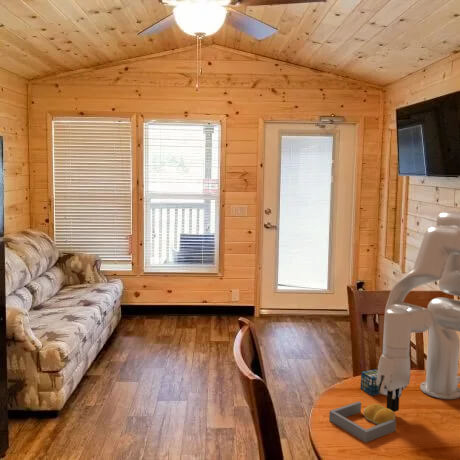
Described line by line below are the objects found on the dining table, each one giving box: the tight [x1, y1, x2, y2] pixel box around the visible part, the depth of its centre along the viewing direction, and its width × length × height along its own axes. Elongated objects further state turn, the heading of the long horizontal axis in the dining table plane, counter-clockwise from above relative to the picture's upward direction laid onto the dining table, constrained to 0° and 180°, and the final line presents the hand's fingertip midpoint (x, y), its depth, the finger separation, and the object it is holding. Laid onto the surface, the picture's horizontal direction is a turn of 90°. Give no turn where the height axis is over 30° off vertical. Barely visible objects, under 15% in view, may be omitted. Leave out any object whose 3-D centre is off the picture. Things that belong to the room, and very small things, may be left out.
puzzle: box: [360, 369, 382, 397], centre depth 169 cm, size 6×6×6 cm
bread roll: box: [363, 402, 397, 426], centre depth 150 cm, size 8×9×4 cm
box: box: [328, 401, 397, 443], centre depth 146 cm, size 12×14×3 cm
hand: (392, 409), depth 153 cm, fingers closed
